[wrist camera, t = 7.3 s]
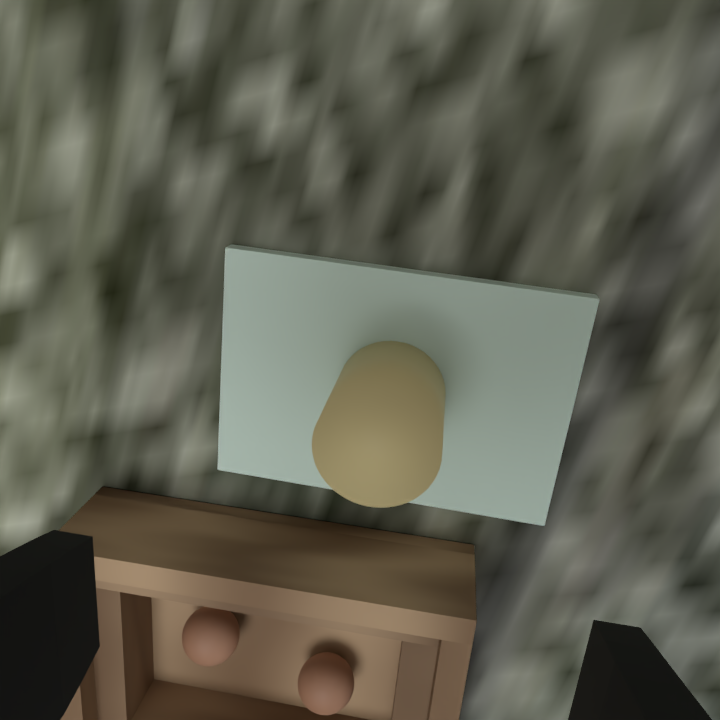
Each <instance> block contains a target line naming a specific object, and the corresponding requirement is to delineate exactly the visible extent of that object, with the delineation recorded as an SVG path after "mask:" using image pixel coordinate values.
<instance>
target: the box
mask: <svg viewBox="0 0 720 720" xmlns="http://www.w3.org/2000/svg"><path fill="white" fill-rule="evenodd" d="M59 531H63V532H69V533H75V534H81V535H87V536H93V549H94V565H95V580H96V595H97V610H98V625H99V641H100V647H99V649H98V651H97V653H96V655H95V657H94V659H93V661H92V663H91V665H90V667H89V669H88V671H87V673H86V675H85V676H84V678H83V680H82V682H81V684H80V686H79V688H78V690H77V691H76V693H75V695H74V697H73V699H72V701H71V702H70V704H69V706H68V708H67V710H66V712H65V713H64V715H63V716H62V718H61V719H60V720H459V716H460V710H461V705H462V699H463V694H464V688H465V683H466V677H467V672H468V666H469V660H470V655H471V649H472V644H473V638H474V633H475V627H476V622H477V615H476V583H475V552H474V545H472V544H466V543H459V542H453V541H447V540H440V539H434V538H427V537H421V536H415V535H408V534H402V533H395V532H389V531H383V530H376V529H370V528H363V527H357V526H351V525H344V524H338V523H331V522H325V521H319V520H312V519H306V518H299V517H293V516H287V515H280V514H274V513H268V512H261V511H255V510H248V509H242V508H236V507H229V506H223V505H216V504H210V503H204V502H197V501H191V500H184V499H178V498H172V497H165V496H159V495H152V494H146V493H140V492H133V491H127V490H120V489H114V488H108V487H102V488H101V489H100V490H99V491H98V492H97V493H96V494H95V495H94V496H93V497H92V498H91V499H90V500H89V501H88V502H87V503H86V504H85V505H84V506H83V507H82V508H81V509H80V510H79V511H78V512H77V513H76V514H75V515H74V516H73V517H72V518H71V519H70V520H69V521H68V522H67V523H66V524H65V525H64V526H63V527H62V528H61V529H60V530H59Z"/></svg>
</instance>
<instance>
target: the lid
mask: <svg viewBox="0 0 720 720" xmlns="http://www.w3.org/2000/svg"><path fill="white" fill-rule="evenodd" d="M599 300H600V299H599V298H598V296H597V295H596V294H590V293H583V292H575V291H568V290H561V289H554V288H546V287H539V286H532V285H524V284H517V283H510V282H503V281H495V280H488V279H481V278H474V277H466V276H459V275H452V274H444V273H437V272H430V271H423V270H415V269H408V268H401V267H394V266H386V265H379V264H372V263H364V262H357V261H350V260H343V259H335V258H328V257H321V256H313V255H306V254H299V253H292V252H284V251H277V250H270V249H263V248H255V247H248V246H241V245H233V244H231V245H229V246H227V247H226V248H225V271H224V300H223V328H222V356H221V385H220V413H219V441H218V470H222V471H228V472H233V473H239V474H245V475H251V476H257V477H262V478H268V479H274V480H280V481H286V482H292V483H297V484H303V485H309V486H315V487H321V488H326V489H332V490H334V491H335V492H337V493H338V494H339V495H341V496H342V497H344V498H346V499H348V500H350V501H352V502H354V503H357V504H360V505H364V506H368V507H376V508H386V507H394V506H398V505H402V504H405V503H407V502H408V503H414V504H420V505H425V506H431V507H437V508H443V509H449V510H454V511H460V512H466V513H472V514H478V515H484V516H489V517H495V518H501V519H507V520H513V521H518V522H524V523H530V524H536V525H542V526H545V521H546V517H547V513H548V509H549V505H550V501H551V497H552V493H553V489H554V485H555V480H556V476H557V472H558V468H559V464H560V460H561V456H562V452H563V448H564V444H565V439H566V435H567V431H568V427H569V423H570V419H571V415H572V411H573V407H574V402H575V398H576V394H577V390H578V386H579V382H580V378H581V374H582V370H583V366H584V361H585V357H586V353H587V349H588V345H589V341H590V337H591V333H592V329H593V324H594V320H595V316H596V312H597V308H598V304H599Z"/></svg>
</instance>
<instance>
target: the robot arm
mask: <svg viewBox="0 0 720 720" xmlns="http://www.w3.org/2000/svg"><path fill="white" fill-rule="evenodd" d="M99 647H100V641H99V625H98V610H97V595H96V580H95V565H94V549H93V536H87V535H81V534H75V533H69V532H63V531H57V530H53V531H51V532H49V533H46V534H44V535H42V536H40V537H38V538H36V539H34V540H32V541H30V542H28V543H26V544H24V545H22V546H20V547H18V548H16V549H14V550H12V551H10V552H8V553H6V554H4V555H2V556H0V720H60V719H61V718H62V716H63V715H64V713H65V712H66V710H67V708H68V706H69V704H70V702H71V701H72V699H73V697H74V695H75V693H76V691H77V690H78V688H79V686H80V684H81V682H82V680H83V678H84V676H85V675H86V673H87V671H88V669H89V667H90V665H91V663H92V661H93V659H94V657H95V655H96V653H97V651H98V649H99ZM568 720H712V719H711V718H710V717H709V715H708V714H707V713H706V711H705V710H704V709H703V708H702V706H701V705H700V704H699V703H698V701H697V700H696V699H695V697H694V696H693V695H692V694H691V692H690V691H689V690H688V688H687V687H686V686H685V685H684V683H683V682H682V681H681V679H680V678H679V677H678V675H677V674H676V673H675V672H674V670H673V669H672V668H671V666H670V665H669V664H668V662H667V661H666V660H665V659H664V657H663V656H662V655H661V653H660V652H659V651H658V649H657V648H656V647H655V646H654V644H653V643H652V642H651V640H650V639H649V638H648V637H647V635H646V634H645V633H644V632H643V630H642V629H641V628H639V627H633V626H627V625H621V624H615V623H609V622H603V621H597V620H594V621H593V625H592V629H591V633H590V637H589V641H588V644H587V648H586V652H585V656H584V660H583V664H582V668H581V672H580V676H579V680H578V683H577V687H576V691H575V695H574V699H573V703H572V707H571V711H570V715H569V718H568Z"/></svg>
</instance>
